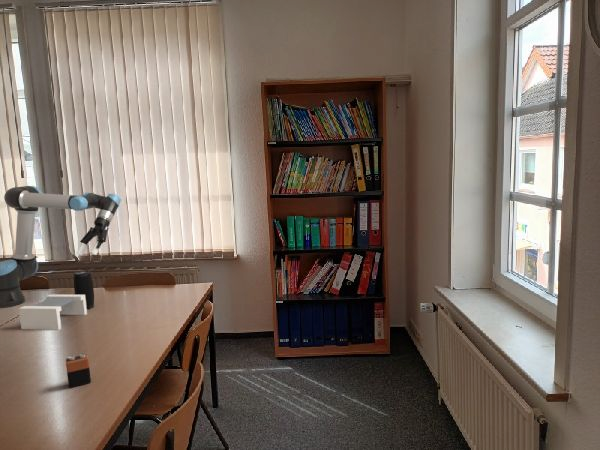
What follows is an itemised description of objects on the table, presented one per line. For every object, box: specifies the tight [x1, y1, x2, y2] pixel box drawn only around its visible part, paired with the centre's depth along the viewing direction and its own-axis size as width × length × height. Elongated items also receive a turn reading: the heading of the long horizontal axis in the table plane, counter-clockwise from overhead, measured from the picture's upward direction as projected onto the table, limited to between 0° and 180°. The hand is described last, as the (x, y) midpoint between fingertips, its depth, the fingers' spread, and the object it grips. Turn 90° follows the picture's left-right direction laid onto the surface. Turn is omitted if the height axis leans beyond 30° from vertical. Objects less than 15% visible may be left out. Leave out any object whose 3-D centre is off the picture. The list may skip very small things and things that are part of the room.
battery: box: [65, 353, 92, 389], centre depth 159 cm, size 4×7×10 cm, turn 120°
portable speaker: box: [73, 269, 95, 310], centre depth 243 cm, size 9×9×20 cm
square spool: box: [18, 293, 88, 331], centre depth 224 cm, size 22×19×10 cm
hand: (86, 254), depth 244 cm, fingers open, 13 cm apart
